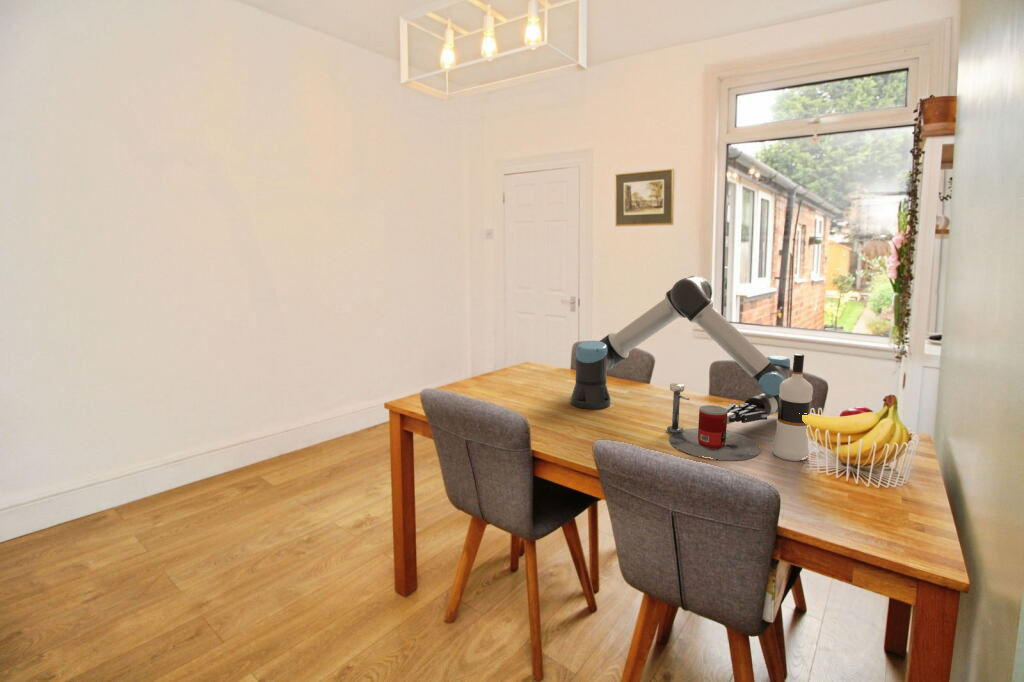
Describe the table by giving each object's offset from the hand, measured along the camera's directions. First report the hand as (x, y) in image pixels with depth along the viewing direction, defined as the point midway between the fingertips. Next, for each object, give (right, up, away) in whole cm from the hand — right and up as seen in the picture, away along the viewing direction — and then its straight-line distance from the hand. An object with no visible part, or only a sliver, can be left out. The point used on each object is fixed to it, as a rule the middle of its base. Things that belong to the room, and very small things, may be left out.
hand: (720, 421), depth 163 cm
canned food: (-3, -7, -1) cm, 8 cm away
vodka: (+16, -9, -10) cm, 21 cm away
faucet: (-11, -5, +10) cm, 16 cm away
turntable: (-2, -7, -1) cm, 7 cm away
